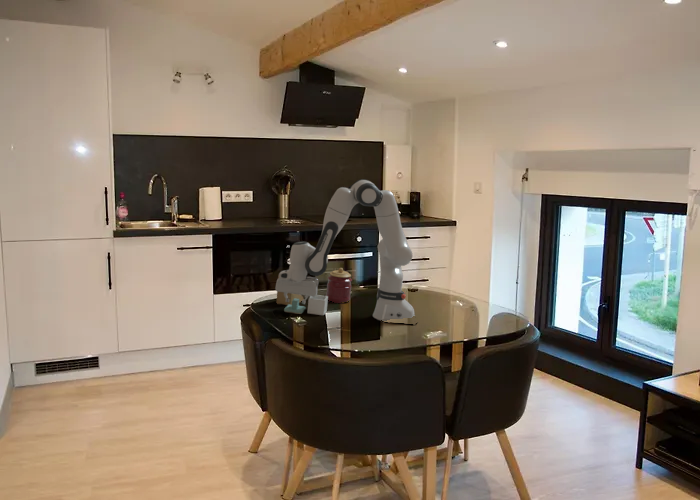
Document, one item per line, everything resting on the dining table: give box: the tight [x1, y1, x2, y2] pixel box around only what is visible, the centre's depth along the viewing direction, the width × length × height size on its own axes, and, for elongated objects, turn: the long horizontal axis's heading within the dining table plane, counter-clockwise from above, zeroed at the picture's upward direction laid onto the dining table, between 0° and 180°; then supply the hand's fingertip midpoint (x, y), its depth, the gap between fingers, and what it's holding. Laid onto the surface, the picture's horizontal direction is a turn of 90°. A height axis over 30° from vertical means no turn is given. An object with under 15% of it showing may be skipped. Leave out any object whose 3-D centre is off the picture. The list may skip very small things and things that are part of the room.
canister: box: [325, 267, 353, 304], centre depth 334 cm, size 13×13×18 cm
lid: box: [283, 298, 307, 315], centre depth 307 cm, size 9×9×5 cm
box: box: [306, 294, 329, 316], centre depth 308 cm, size 8×8×8 cm
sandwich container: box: [276, 274, 305, 306], centre depth 322 cm, size 9×15×15 cm, turn 154°
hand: (295, 302), depth 306 cm, fingers open, 7 cm apart
